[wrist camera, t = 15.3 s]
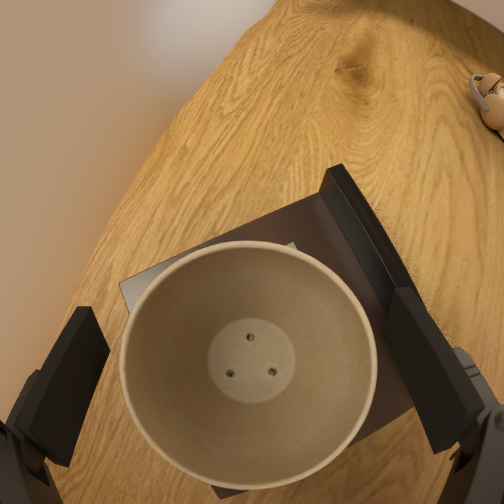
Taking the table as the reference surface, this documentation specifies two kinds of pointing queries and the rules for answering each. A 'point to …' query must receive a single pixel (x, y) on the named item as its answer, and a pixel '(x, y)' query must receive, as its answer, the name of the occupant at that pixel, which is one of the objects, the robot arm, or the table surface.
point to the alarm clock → (490, 100)
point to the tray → (340, 262)
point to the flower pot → (248, 365)
